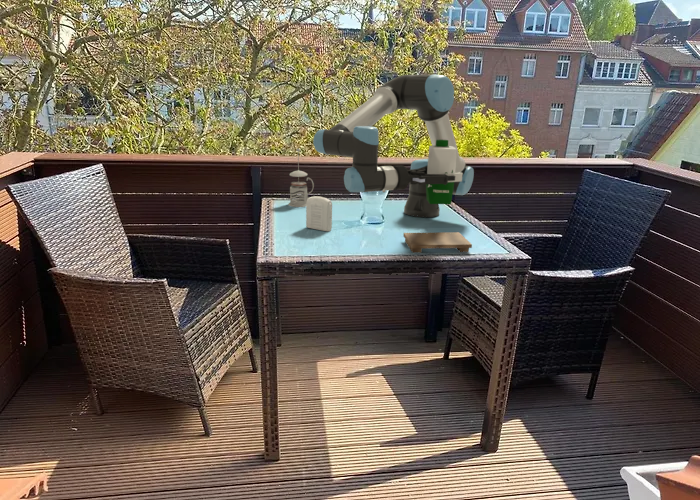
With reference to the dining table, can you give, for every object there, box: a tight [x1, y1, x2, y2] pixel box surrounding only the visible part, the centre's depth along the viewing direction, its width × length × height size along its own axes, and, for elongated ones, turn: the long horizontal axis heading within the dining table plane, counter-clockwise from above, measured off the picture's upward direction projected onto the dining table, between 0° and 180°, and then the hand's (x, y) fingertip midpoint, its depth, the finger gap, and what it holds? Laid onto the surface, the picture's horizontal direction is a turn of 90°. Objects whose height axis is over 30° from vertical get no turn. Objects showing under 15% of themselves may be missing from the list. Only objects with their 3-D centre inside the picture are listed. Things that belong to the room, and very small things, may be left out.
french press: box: [287, 148, 315, 208], centre depth 219 cm, size 10×12×25 cm
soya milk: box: [426, 140, 458, 205], centre depth 161 cm, size 9×9×20 cm
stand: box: [402, 231, 473, 254], centre depth 168 cm, size 20×14×3 cm
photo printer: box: [305, 195, 333, 232], centre depth 184 cm, size 10×4×12 cm, turn 61°
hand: (453, 174), depth 162 cm, fingers closed on soya milk, 8 cm apart
